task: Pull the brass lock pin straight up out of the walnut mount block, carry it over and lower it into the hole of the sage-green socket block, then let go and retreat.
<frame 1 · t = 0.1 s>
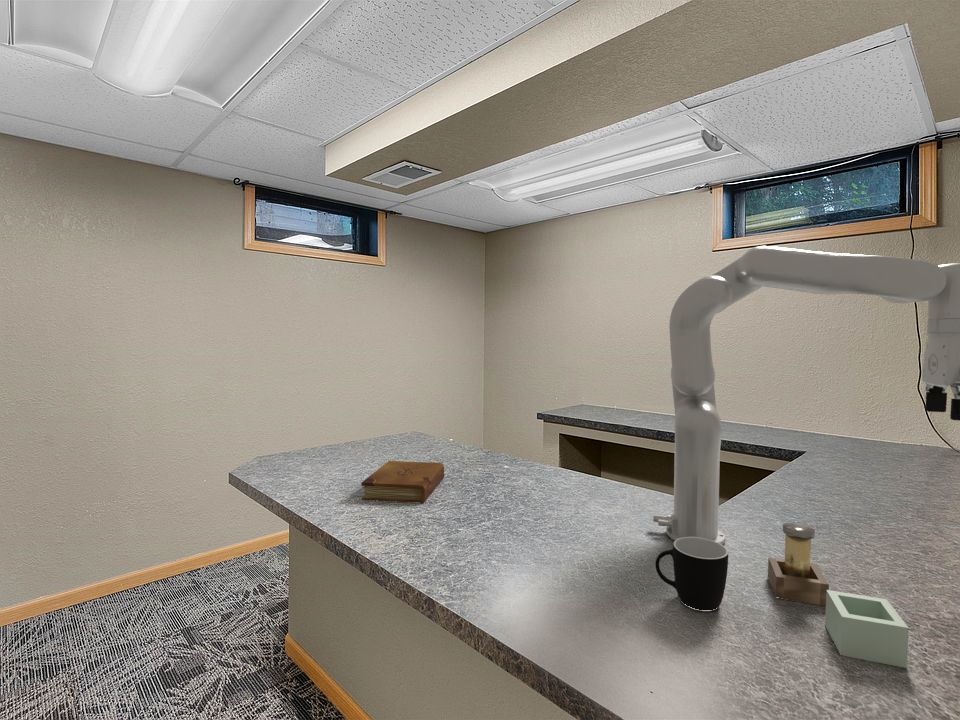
hand: (948, 415, 98), 31 cm above the table, tool pointing down, fingers open, 9 cm apart
diary: (405, 490, 153), on the table
mug: (689, 601, 90), on the table
mount: (796, 591, 93), on the table
pin: (797, 559, 92), in the mount
socket: (863, 645, 77), on the table
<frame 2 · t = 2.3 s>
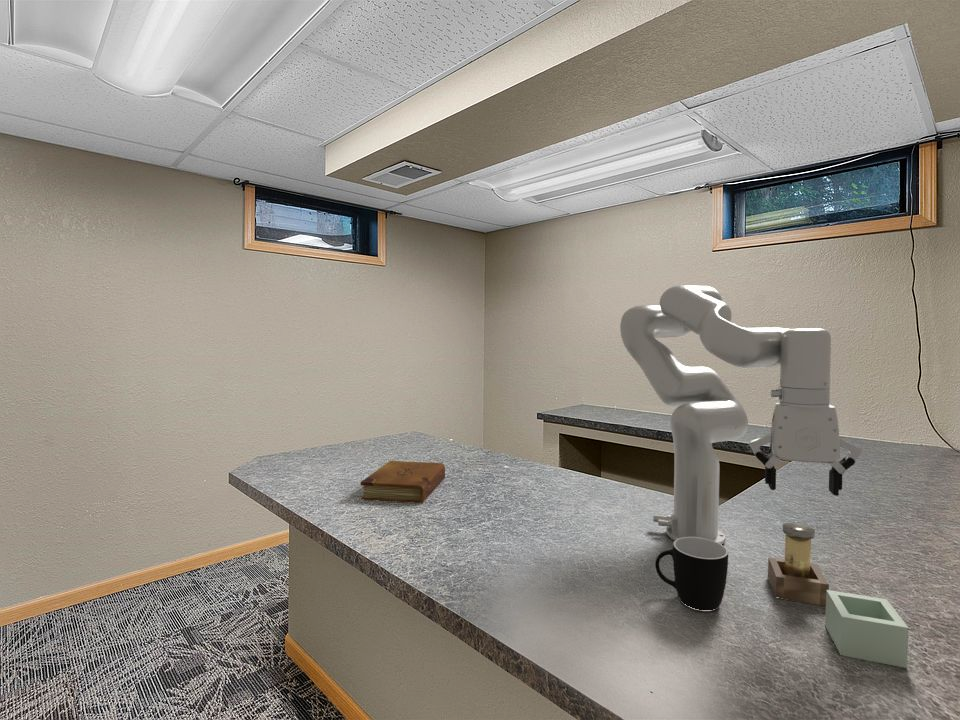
hand: (802, 490, 91), 19 cm above the table, tool pointing down, fingers open, 9 cm apart
nothing on the table moved.
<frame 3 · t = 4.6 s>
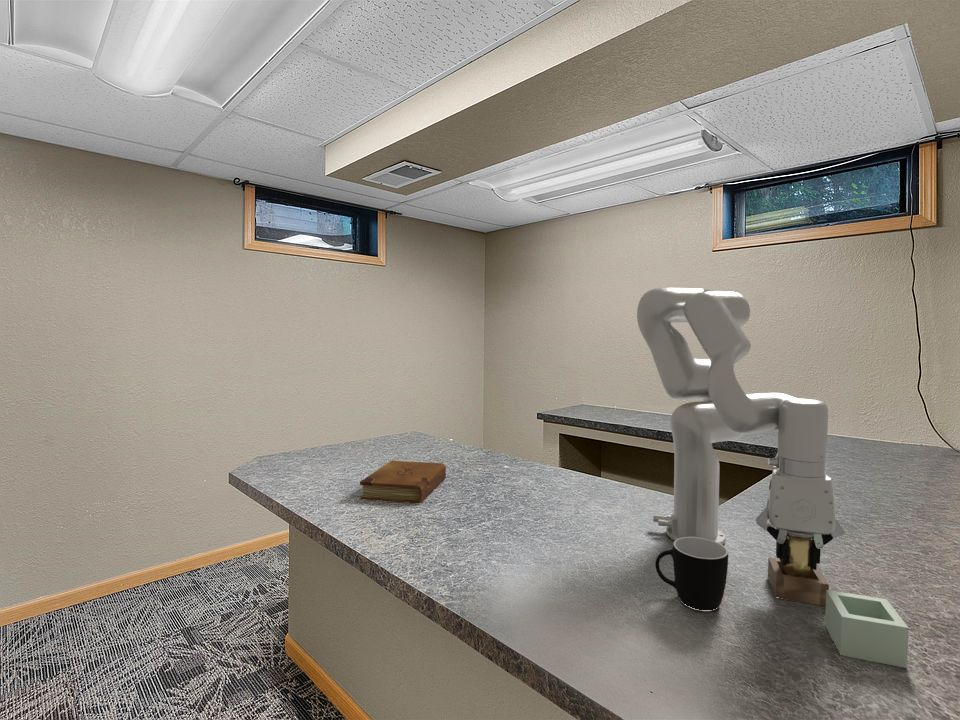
hand: (797, 563, 92), 5 cm above the table, tool pointing down, fingers closed on pin, 4 cm apart
pin: (797, 559, 92), in the mount, touching gripper
everything else where it was.
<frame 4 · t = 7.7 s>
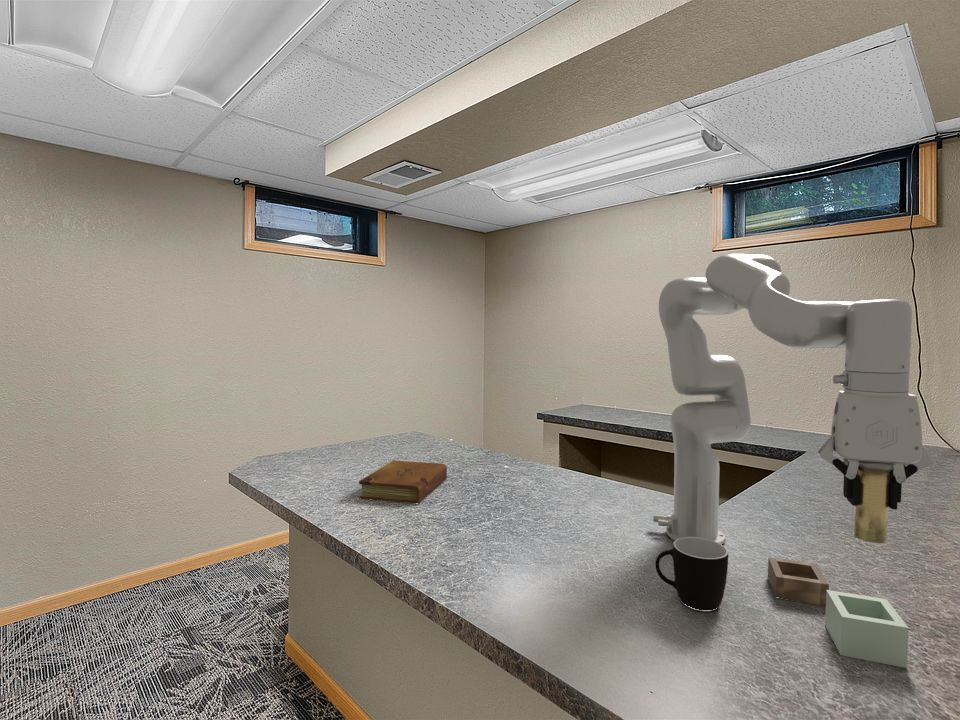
hand: (871, 503, 75), 22 cm above the table, tool pointing down, fingers closed on pin, 4 cm apart
pin: (871, 498, 75), point 23 cm above the table, touching gripper
everything else where it was.
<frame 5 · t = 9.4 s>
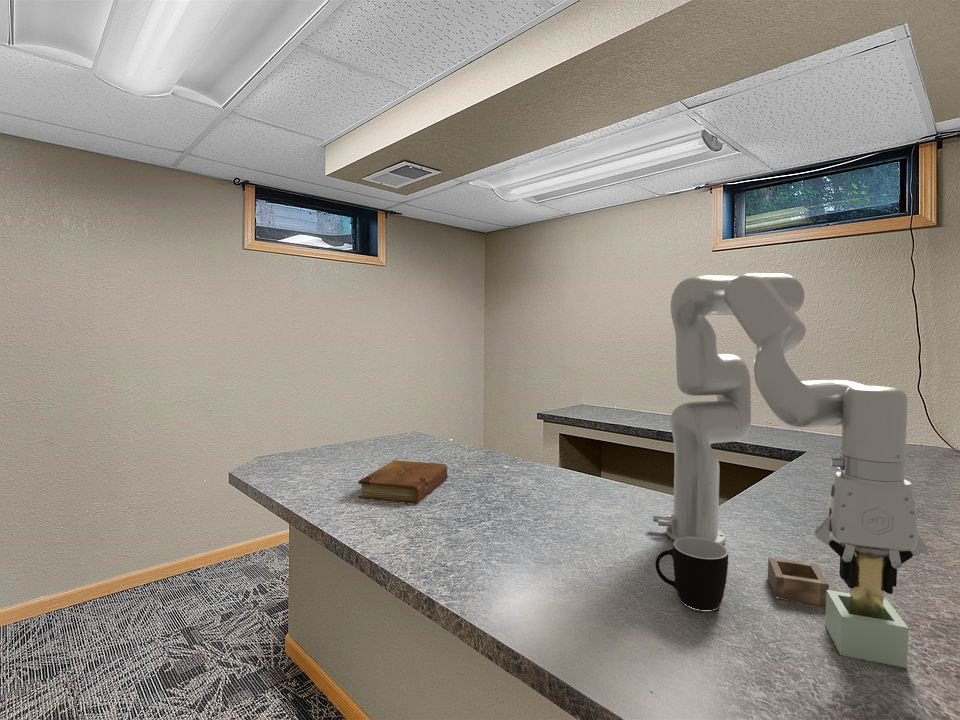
hand: (867, 585, 76), 10 cm above the table, tool pointing down, fingers closed on pin, 4 cm apart
pin: (867, 581, 76), point 10 cm above the table, touching gripper
everything else where it was.
when the fingers open (7 cm above the table, at t = 11.0 s): pin stays where it is, resting in socket.
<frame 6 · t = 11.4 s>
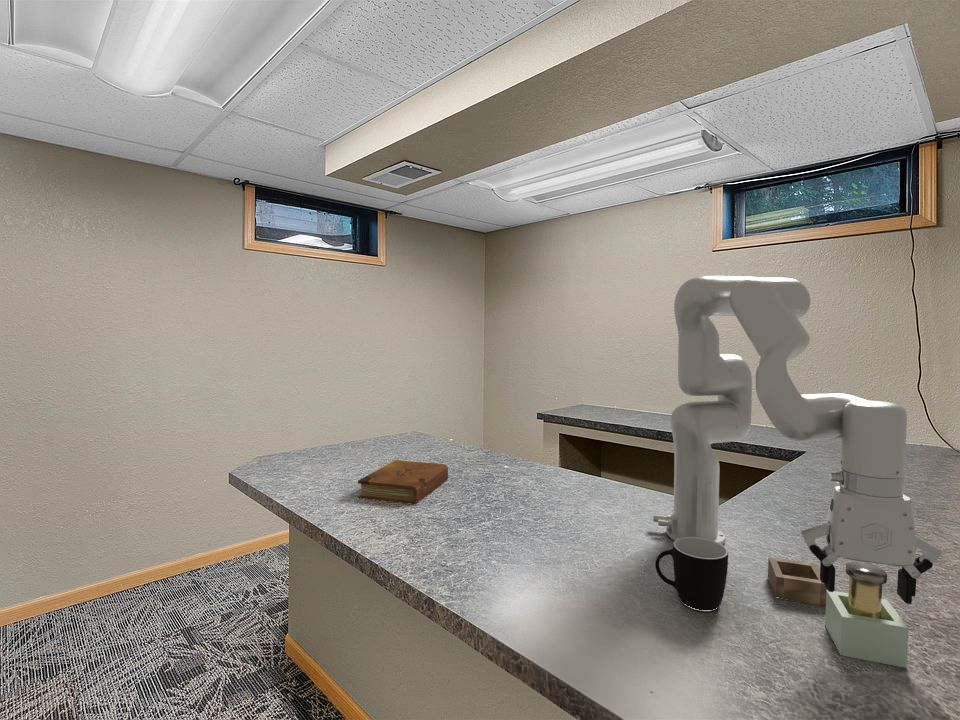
hand: (865, 593, 76), 8 cm above the table, tool pointing down, fingers open, 9 cm apart
pin: (864, 607, 77), in the socket
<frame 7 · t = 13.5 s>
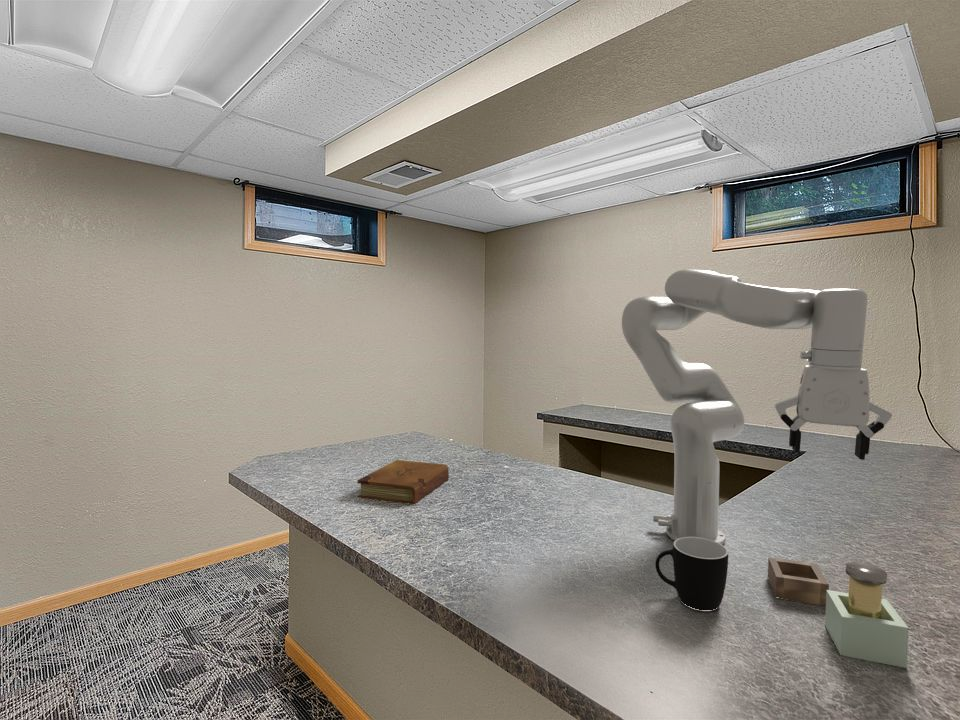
hand: (826, 454, 90), 26 cm above the table, tool pointing down, fingers open, 9 cm apart
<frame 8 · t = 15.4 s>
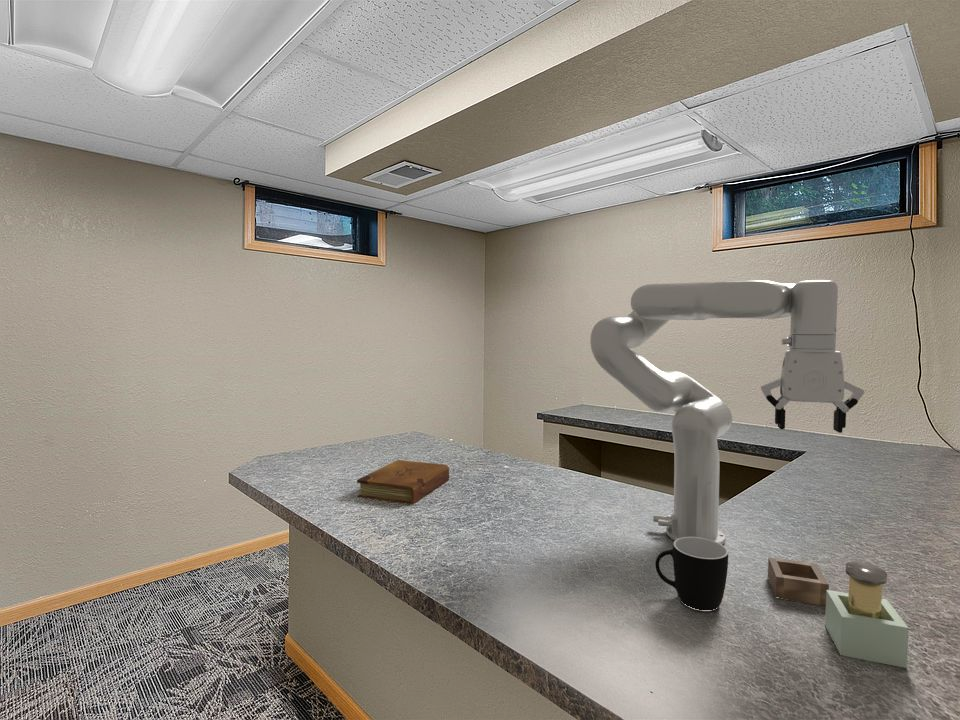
hand: (808, 429, 100), 28 cm above the table, tool pointing down, fingers open, 9 cm apart
at the end: pin 0.1 cm off-centre on the socket, point 6.0 cm above the socket's base; pin tilted 0°; the gripper is holding nothing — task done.
